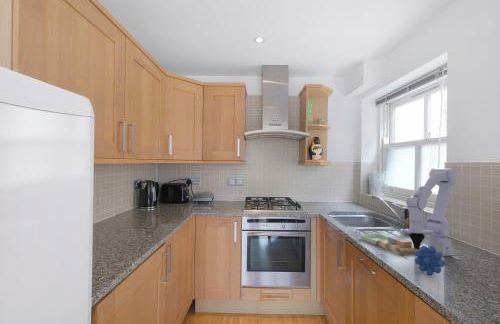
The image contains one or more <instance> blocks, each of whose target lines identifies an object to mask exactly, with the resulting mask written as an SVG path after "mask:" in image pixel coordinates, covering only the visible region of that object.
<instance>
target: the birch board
mask: <svg viewBox="0 0 500 324" xmlns="http://www.w3.org/2000/svg"><path fill="white" fill-rule="evenodd" d="M377 246H378V247H380V246H381V247H380V248H383V249H386V250H387V251H390V252H392V253H395V254H398V255H400V256H406V255H416V254H415V253H416V251H417V250H420V248H421V247H422V246H420V248H419V249H415V248H414V245H413V244H412V247H401V246H399V245H396V244H393V243H390V242H388V239H385V240H378V245H377Z"/></svg>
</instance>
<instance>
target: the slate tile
mask: <svg viewBox="0 0 500 324" xmlns="http://www.w3.org/2000/svg"><path fill="white" fill-rule="evenodd" d="M399 239H403V238H401V237H398V236H396V235H393V236H388V242H390V243H393V244H396V240H399Z"/></svg>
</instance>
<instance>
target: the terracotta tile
mask: <svg viewBox="0 0 500 324" xmlns="http://www.w3.org/2000/svg"><path fill="white" fill-rule="evenodd" d="M396 245H399V246H401V247H412V245H413V242H412V240H411V241H410V240H408V239H404V238H402V239H399V240H396Z"/></svg>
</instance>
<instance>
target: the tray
mask: <svg viewBox="0 0 500 324" xmlns="http://www.w3.org/2000/svg"><path fill="white" fill-rule="evenodd" d="M359 237H360V238H361V239H360V240H362V239H363V240H362V241H364V240H365V242H367V241H368V242H367V243H369V242H370V243H369V244H371V243H372V245H374V246H378V240H385V239H388V237H389V236H388V235H384V234H382V233H366V234H360V236H359Z"/></svg>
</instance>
